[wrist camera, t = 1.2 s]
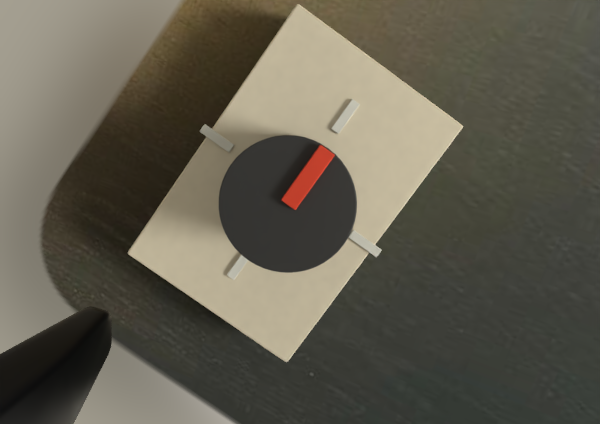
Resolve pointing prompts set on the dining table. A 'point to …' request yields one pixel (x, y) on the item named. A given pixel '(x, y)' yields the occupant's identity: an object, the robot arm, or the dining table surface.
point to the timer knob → (287, 203)
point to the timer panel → (319, 127)
